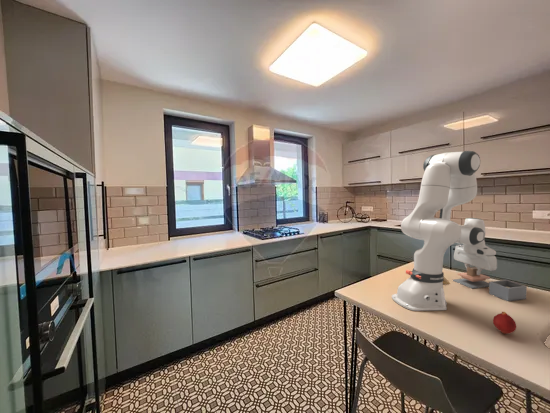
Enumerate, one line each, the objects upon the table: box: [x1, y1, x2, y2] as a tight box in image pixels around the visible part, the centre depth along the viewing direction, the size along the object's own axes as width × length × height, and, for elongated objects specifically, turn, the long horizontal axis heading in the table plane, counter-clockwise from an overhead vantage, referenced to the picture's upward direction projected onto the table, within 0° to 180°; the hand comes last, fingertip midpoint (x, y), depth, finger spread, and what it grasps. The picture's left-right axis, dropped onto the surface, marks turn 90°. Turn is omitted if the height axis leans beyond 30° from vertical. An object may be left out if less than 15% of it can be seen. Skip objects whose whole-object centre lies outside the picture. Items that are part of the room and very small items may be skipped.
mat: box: [452, 278, 489, 290], centre depth 124 cm, size 14×11×1 cm
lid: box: [457, 266, 491, 282], centre depth 124 cm, size 10×8×6 cm
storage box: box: [488, 279, 528, 302], centre depth 108 cm, size 10×8×6 cm
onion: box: [492, 311, 517, 335], centre depth 82 cm, size 6×6×8 cm
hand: (473, 273), depth 124 cm, fingers closed on lid, 3 cm apart
